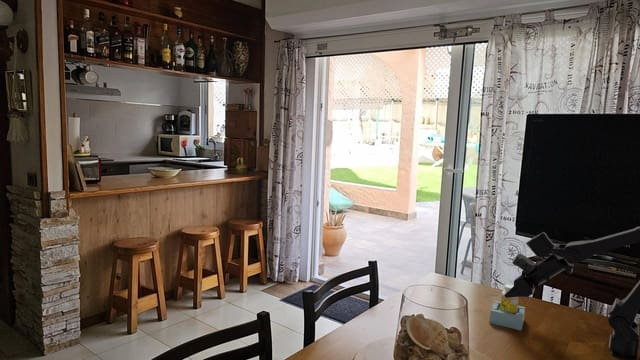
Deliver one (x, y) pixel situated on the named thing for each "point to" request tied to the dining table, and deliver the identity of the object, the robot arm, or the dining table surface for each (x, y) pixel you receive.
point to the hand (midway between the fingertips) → (508, 292)
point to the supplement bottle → (508, 301)
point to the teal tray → (507, 317)
